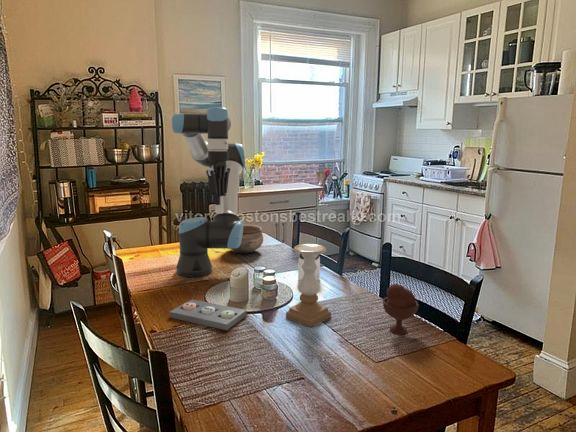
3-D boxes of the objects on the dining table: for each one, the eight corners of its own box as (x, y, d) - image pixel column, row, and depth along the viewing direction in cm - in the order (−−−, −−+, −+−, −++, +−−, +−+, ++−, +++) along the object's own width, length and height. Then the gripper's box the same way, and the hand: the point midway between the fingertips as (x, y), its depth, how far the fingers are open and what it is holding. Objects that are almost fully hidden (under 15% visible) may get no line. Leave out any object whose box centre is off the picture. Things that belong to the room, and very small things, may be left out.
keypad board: (169, 317, 147) (169, 311, 146) (192, 304, 157) (191, 299, 157) (227, 330, 138) (226, 324, 137) (246, 315, 148) (246, 310, 148)
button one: (218, 321, 143) (218, 313, 143) (225, 316, 147) (225, 308, 147) (229, 324, 142) (229, 316, 141) (237, 318, 145) (237, 311, 145)
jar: (323, 280, 184) (324, 252, 182) (308, 284, 179) (309, 255, 176) (308, 274, 191) (309, 247, 188) (294, 278, 186) (294, 250, 183)
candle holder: (331, 317, 148) (333, 247, 143) (310, 327, 140) (311, 254, 136) (306, 308, 155) (307, 241, 151) (285, 317, 148) (285, 247, 143)
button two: (180, 313, 149) (180, 305, 149) (188, 308, 153) (188, 301, 153) (191, 315, 148) (190, 308, 147) (199, 310, 152) (198, 303, 151)
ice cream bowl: (397, 341, 131) (400, 293, 128) (373, 326, 141) (375, 281, 138) (424, 334, 136) (427, 288, 133) (399, 320, 146) (402, 277, 143)
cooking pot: (217, 248, 229) (217, 225, 227) (251, 244, 238) (251, 221, 236) (236, 261, 208) (236, 236, 206) (272, 256, 217) (272, 231, 215)
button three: (198, 317, 146) (198, 309, 146) (206, 312, 150) (206, 305, 150) (210, 319, 145) (210, 312, 144) (217, 314, 149) (217, 307, 148)
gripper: (216, 151, 158) (218, 216, 162) (236, 149, 169) (236, 210, 174) (199, 150, 161) (201, 215, 165) (219, 149, 172) (220, 209, 177)
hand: (219, 212), depth 170 cm, fingers closed
